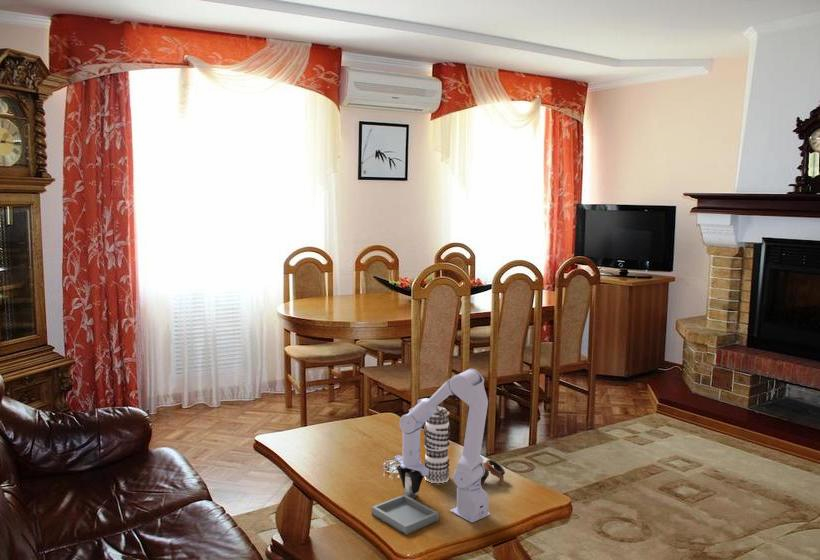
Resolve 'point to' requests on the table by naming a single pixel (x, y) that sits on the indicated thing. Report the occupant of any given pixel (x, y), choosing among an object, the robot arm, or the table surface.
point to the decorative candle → (437, 446)
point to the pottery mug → (493, 471)
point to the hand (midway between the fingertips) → (411, 489)
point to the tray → (405, 514)
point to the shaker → (409, 484)
